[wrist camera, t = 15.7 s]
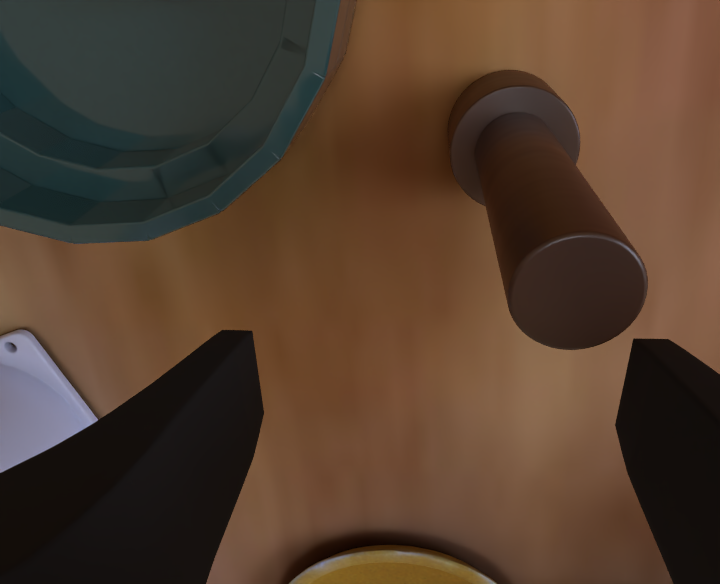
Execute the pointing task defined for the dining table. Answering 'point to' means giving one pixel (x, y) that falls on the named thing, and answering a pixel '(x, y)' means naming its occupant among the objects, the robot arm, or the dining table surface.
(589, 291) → the muddler
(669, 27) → the dining table surface
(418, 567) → the tableware set
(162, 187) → the bowl
